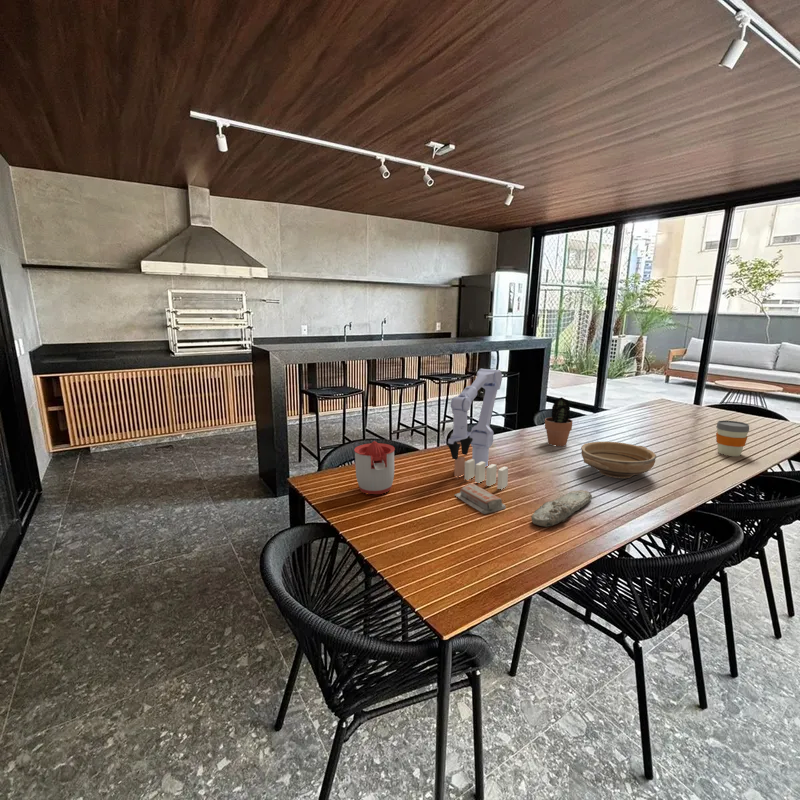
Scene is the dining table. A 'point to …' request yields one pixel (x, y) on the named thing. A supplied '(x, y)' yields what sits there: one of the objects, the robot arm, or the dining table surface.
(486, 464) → the robot arm
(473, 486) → the packaged product
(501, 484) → the domino
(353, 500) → the dining table surface
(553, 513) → the long grey stone
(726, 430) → the reusable coffee cup
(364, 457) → the citrus juicer
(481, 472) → the domino
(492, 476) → the domino
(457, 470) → the brown rectangular block
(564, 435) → the potted plant
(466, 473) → the cream white flat block
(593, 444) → the ceramic bowl
